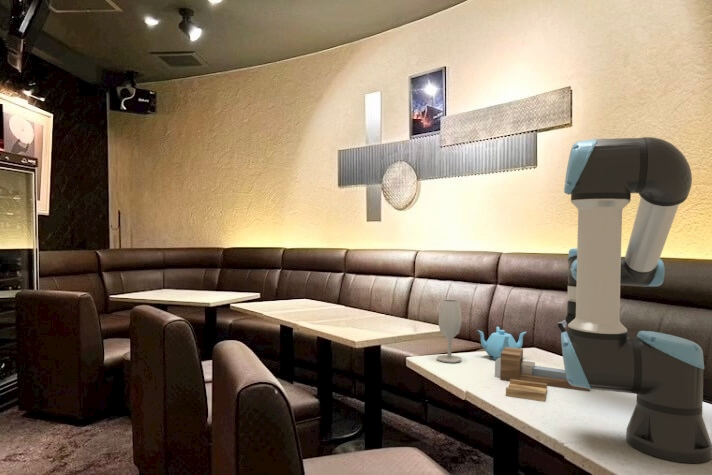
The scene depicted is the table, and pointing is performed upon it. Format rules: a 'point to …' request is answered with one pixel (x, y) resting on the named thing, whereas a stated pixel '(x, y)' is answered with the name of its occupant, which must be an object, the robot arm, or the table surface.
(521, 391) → the tan tray
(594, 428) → the table surface
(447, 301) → the wineglass
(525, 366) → the block
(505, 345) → the teapot
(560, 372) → the block
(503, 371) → the brown wooden forked piece
